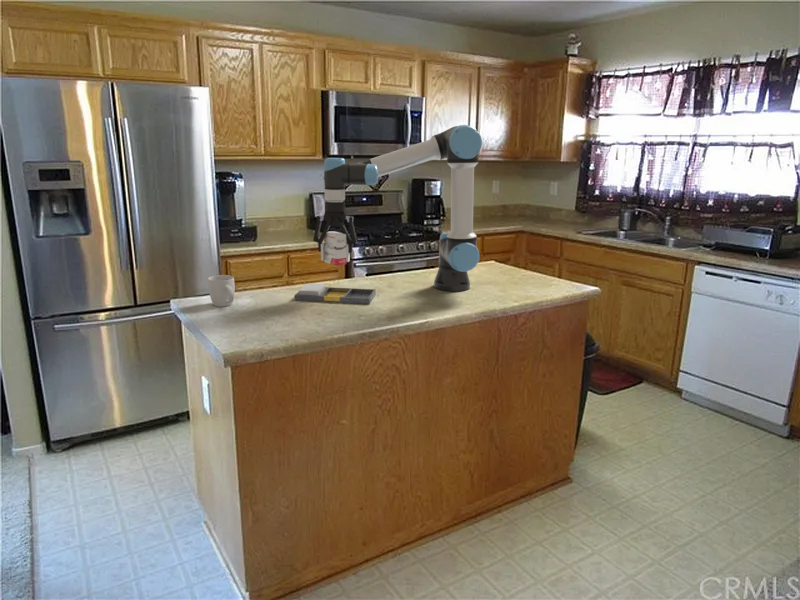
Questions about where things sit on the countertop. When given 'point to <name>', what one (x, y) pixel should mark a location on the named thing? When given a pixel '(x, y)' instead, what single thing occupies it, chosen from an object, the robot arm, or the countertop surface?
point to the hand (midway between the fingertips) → (335, 260)
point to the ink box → (335, 248)
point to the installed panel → (312, 289)
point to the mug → (221, 290)
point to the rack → (341, 296)
